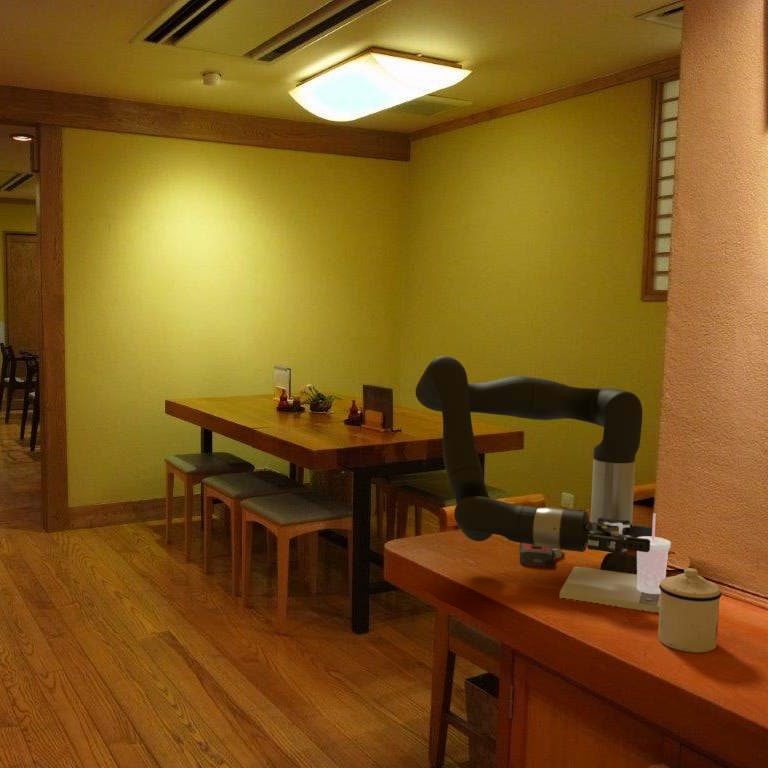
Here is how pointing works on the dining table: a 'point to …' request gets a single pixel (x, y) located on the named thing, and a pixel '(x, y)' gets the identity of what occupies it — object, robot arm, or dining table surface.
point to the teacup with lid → (689, 612)
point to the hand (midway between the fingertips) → (651, 539)
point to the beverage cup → (652, 563)
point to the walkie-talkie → (538, 554)
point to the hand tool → (620, 563)
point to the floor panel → (608, 589)
